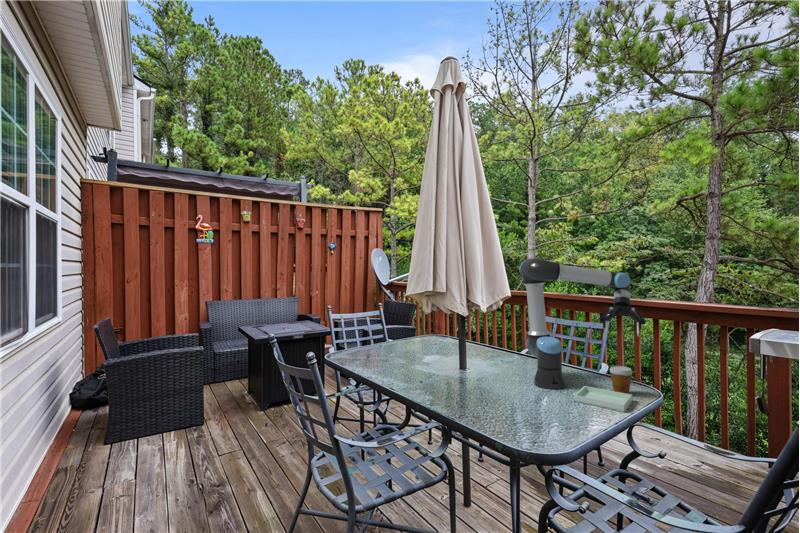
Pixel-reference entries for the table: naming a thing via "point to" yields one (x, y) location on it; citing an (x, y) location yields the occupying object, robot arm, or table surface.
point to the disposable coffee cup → (621, 378)
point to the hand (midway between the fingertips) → (621, 333)
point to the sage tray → (603, 398)
